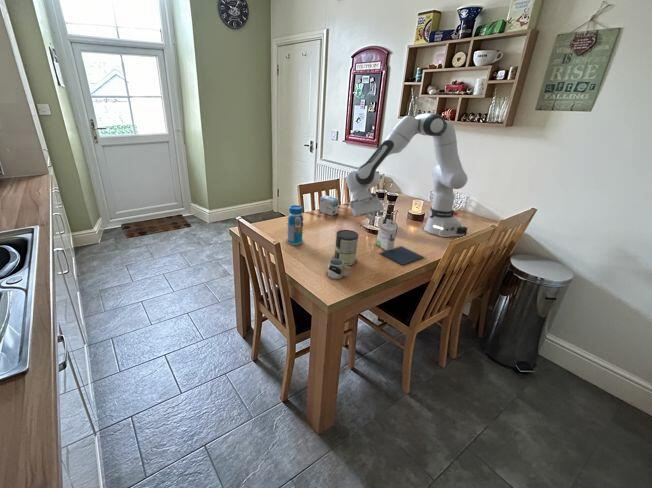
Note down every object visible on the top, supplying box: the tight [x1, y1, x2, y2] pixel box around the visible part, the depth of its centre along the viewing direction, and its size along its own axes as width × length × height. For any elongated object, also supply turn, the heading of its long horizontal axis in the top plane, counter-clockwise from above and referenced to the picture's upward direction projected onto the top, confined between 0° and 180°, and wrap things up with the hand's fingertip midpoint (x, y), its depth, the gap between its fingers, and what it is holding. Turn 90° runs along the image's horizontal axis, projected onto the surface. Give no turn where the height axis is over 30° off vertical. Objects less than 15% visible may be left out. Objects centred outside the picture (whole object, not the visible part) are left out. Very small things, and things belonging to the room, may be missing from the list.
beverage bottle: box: [286, 204, 304, 246], centre depth 174 cm, size 8×8×20 cm
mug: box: [327, 258, 352, 280], centre depth 145 cm, size 10×7×7 cm, turn 69°
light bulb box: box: [319, 195, 340, 217], centre depth 220 cm, size 11×7×11 cm, turn 47°
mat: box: [379, 246, 424, 266], centre depth 165 cm, size 14×16×1 cm
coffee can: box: [333, 229, 359, 266], centre depth 157 cm, size 10×10×14 cm
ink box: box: [375, 218, 398, 252], centre depth 172 cm, size 9×5×15 cm, turn 26°
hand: (373, 220), depth 178 cm, fingers closed
